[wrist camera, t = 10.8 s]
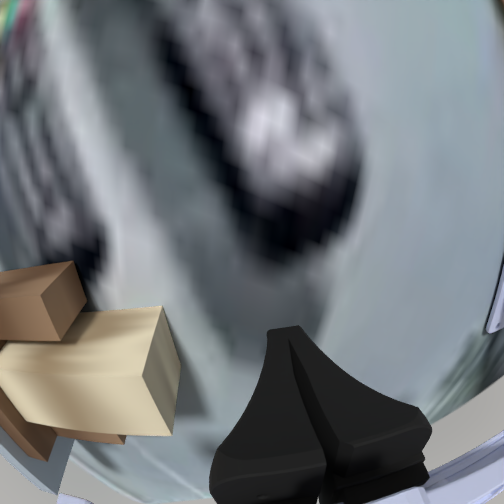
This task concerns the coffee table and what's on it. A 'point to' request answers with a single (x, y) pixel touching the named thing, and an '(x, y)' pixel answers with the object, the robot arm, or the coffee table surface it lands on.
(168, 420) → the cream wooden bar
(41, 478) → the backstop wall
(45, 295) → the brown u-shaped bracket
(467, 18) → the coffee table surface
